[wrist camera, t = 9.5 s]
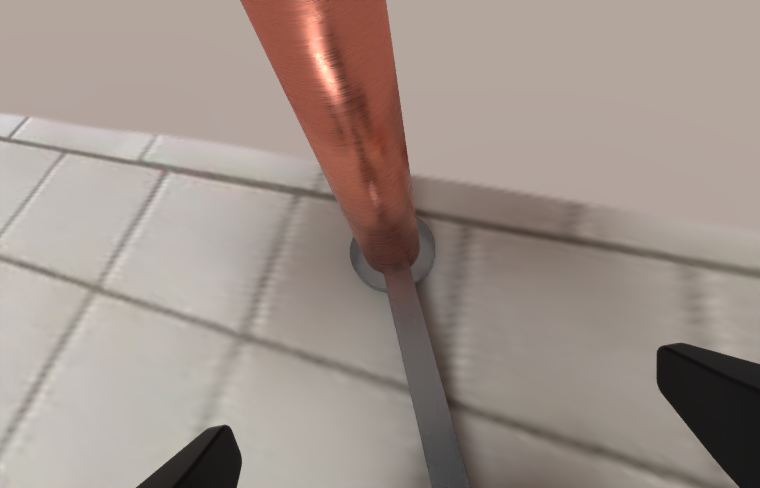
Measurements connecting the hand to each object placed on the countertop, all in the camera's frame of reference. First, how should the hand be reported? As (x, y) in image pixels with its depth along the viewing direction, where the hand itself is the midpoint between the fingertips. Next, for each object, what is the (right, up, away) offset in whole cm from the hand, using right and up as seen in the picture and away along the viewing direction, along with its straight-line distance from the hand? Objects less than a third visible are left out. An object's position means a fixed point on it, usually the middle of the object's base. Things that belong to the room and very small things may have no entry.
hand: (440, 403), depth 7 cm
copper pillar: (+1, -3, +10) cm, 10 cm away
